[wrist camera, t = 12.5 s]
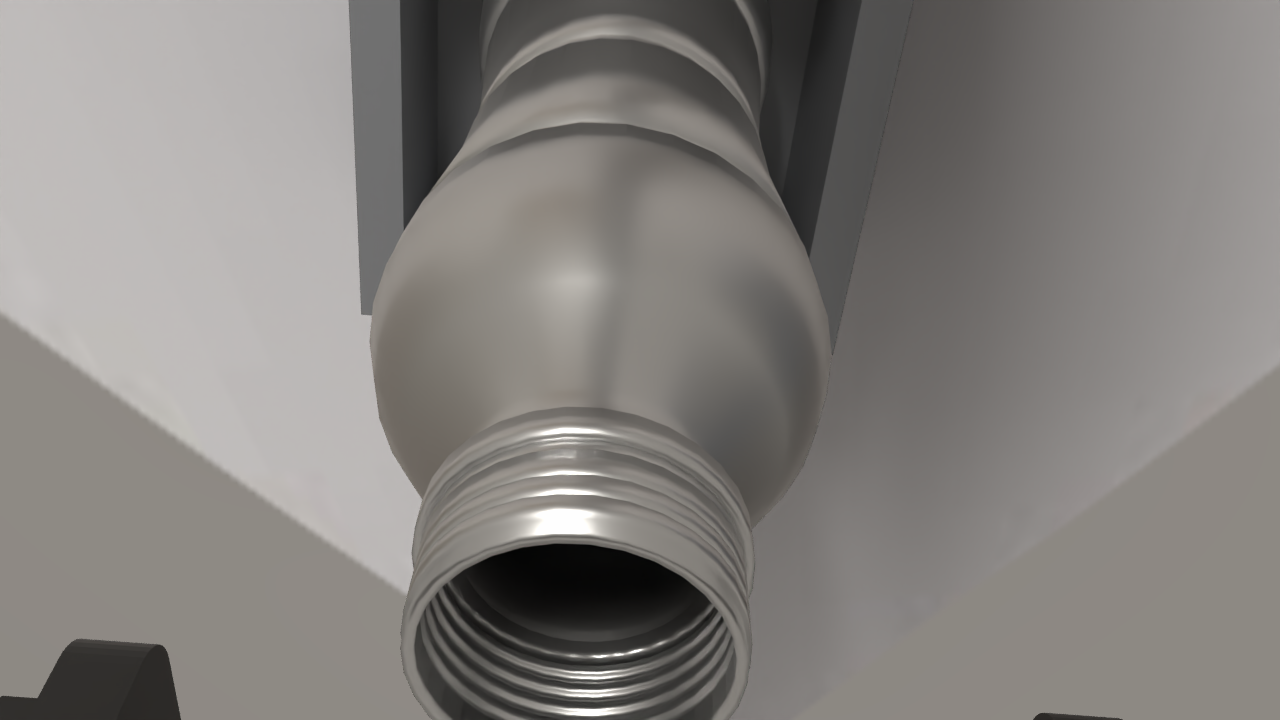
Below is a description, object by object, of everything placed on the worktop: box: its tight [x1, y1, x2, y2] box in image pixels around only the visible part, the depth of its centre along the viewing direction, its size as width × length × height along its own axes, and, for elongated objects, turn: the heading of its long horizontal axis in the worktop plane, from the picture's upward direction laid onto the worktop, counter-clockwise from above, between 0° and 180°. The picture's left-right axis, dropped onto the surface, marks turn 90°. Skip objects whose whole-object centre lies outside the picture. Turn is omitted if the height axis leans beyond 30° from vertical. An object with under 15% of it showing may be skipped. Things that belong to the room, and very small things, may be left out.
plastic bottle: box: [370, 0, 832, 720], centre depth 20 cm, size 6×7×20 cm
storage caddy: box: [349, 0, 914, 355], centre depth 27 cm, size 12×11×6 cm
